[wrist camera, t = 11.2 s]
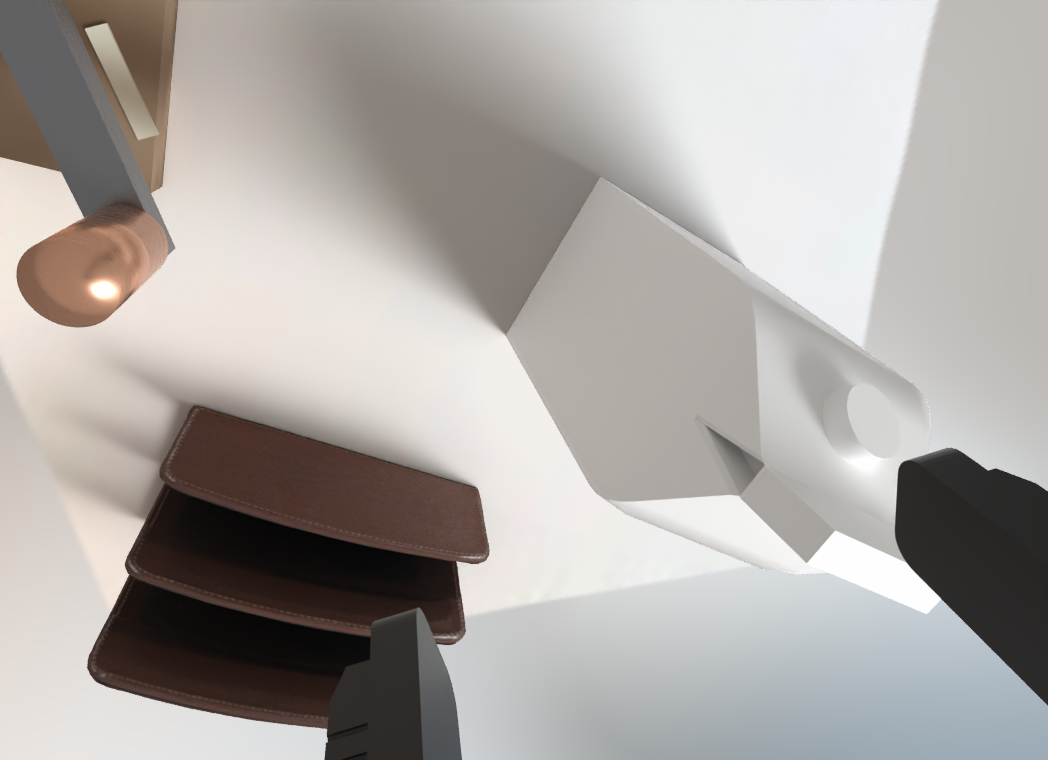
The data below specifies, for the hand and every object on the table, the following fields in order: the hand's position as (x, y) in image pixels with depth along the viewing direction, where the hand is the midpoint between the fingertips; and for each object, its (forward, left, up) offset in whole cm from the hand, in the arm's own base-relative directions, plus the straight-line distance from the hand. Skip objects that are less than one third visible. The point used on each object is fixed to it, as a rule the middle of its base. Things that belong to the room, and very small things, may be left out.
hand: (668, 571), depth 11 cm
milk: (+4, +12, -32) cm, 35 cm away
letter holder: (+23, -4, -32) cm, 40 cm away
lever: (-1, -18, -25) cm, 31 cm away
